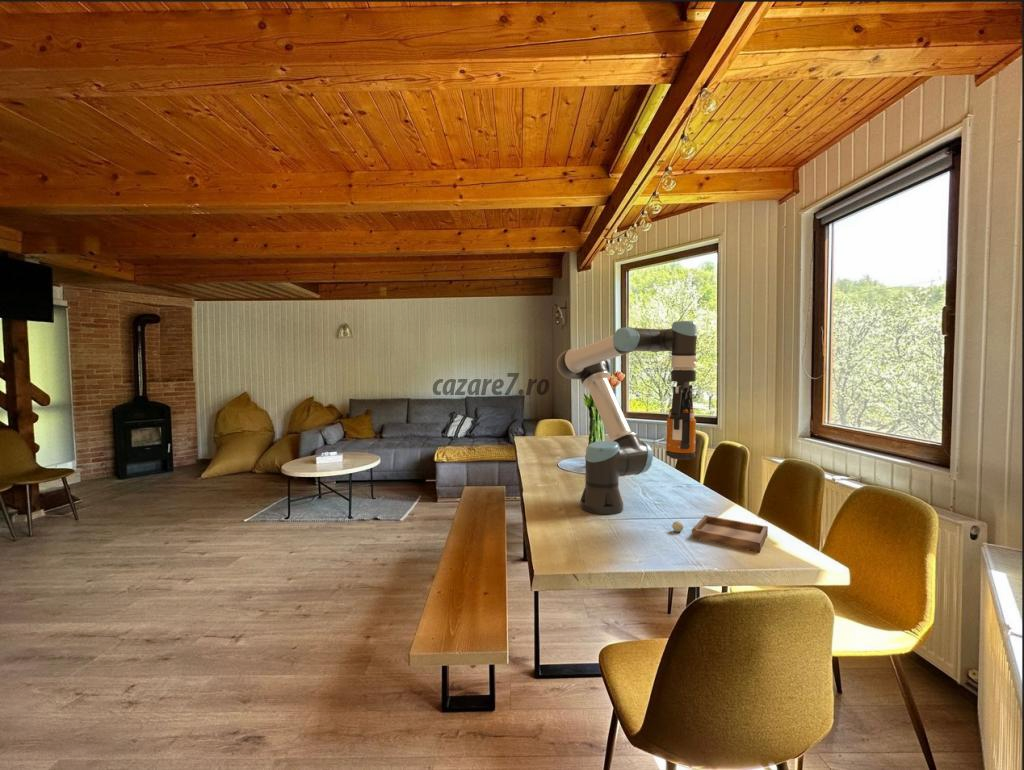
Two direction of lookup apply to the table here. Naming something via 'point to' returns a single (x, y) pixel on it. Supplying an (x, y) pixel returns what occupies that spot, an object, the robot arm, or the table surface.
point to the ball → (677, 526)
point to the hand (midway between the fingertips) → (681, 437)
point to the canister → (687, 445)
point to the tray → (731, 533)
